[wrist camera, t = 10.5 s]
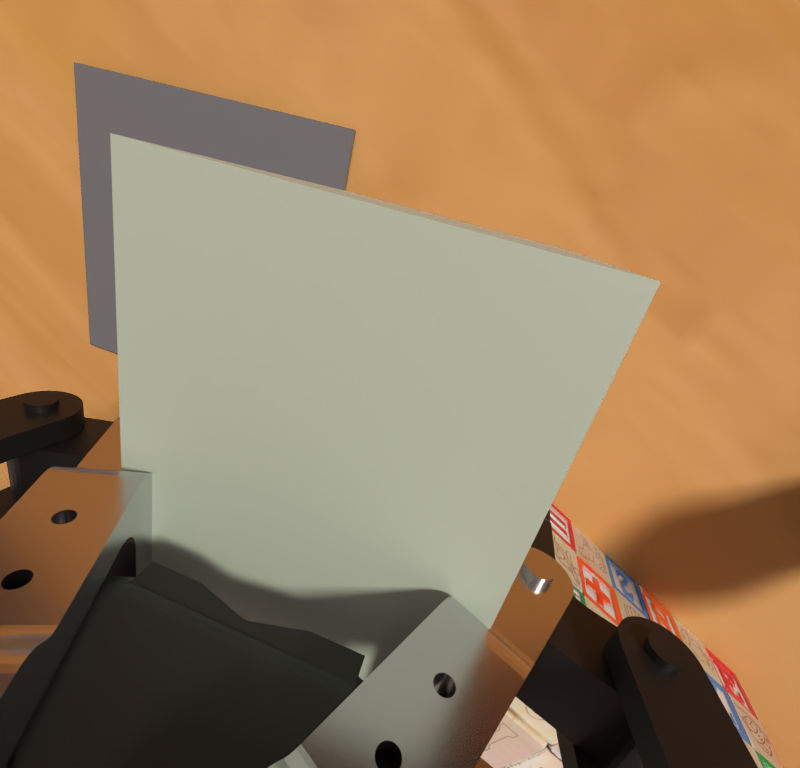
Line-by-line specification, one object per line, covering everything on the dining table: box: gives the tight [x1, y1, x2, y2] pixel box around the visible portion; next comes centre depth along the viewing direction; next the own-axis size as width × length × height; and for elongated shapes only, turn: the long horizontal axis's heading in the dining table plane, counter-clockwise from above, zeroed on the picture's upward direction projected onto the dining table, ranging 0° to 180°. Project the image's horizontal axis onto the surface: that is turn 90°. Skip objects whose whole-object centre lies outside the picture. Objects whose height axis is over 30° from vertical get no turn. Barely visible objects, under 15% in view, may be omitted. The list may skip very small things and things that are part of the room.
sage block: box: [110, 133, 660, 681], centre depth 10 cm, size 6×12×8 cm, turn 166°
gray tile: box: [74, 62, 356, 354], centre depth 27 cm, size 18×18×1 cm
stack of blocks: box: [481, 504, 784, 768], centre depth 23 cm, size 21×6×12 cm, turn 50°
